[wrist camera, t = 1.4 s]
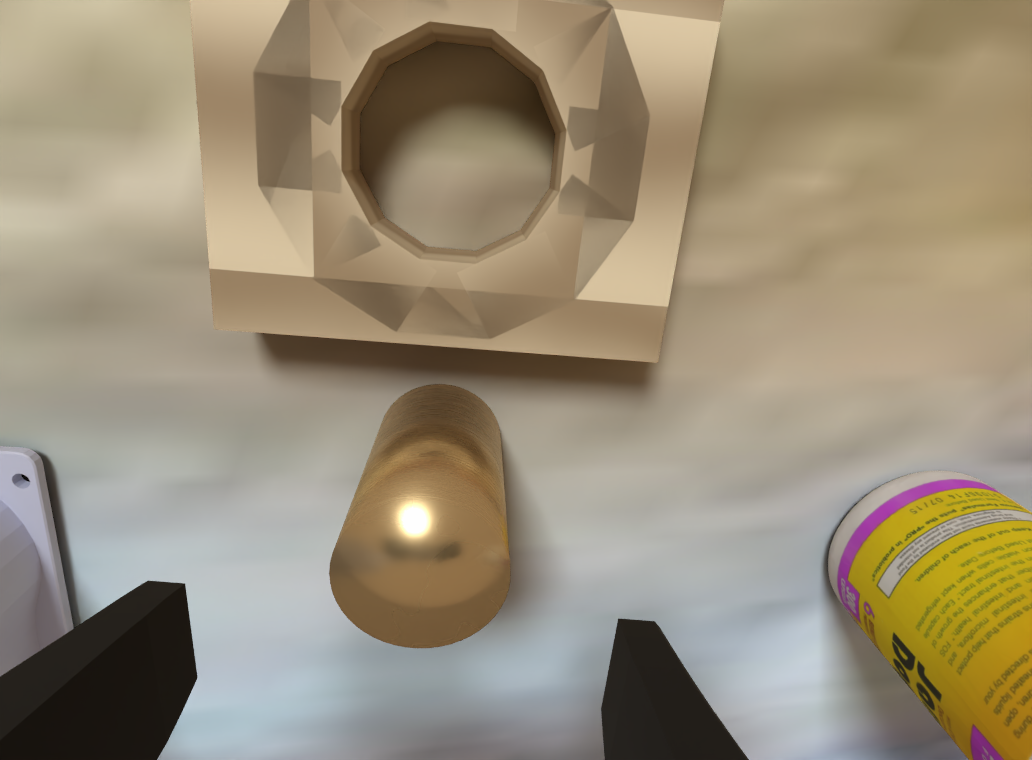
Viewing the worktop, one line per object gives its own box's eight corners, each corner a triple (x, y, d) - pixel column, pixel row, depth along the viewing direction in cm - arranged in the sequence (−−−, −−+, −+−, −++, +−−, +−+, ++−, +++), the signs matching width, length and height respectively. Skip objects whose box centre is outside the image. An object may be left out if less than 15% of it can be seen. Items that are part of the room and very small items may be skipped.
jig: (636, 339, 19) (657, 362, 17) (247, 308, 18) (214, 329, 16) (698, -28, 16) (734, -59, 14) (225, -90, 15) (179, -135, 13)
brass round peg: (495, 496, 21) (502, 650, 14) (378, 490, 21) (329, 645, 14) (505, 388, 20) (518, 503, 13) (380, 380, 19) (328, 493, 13)
